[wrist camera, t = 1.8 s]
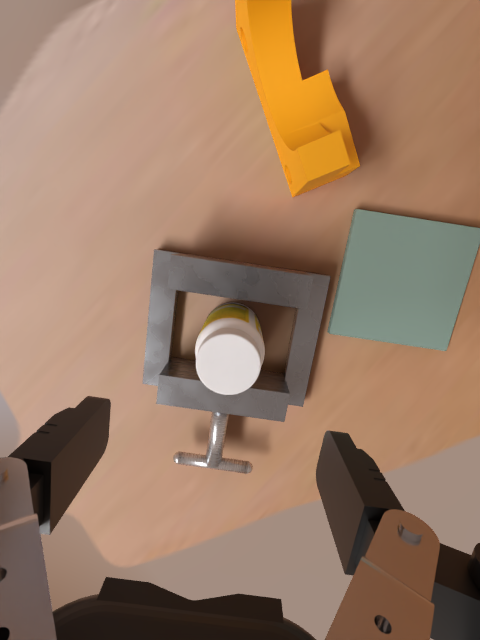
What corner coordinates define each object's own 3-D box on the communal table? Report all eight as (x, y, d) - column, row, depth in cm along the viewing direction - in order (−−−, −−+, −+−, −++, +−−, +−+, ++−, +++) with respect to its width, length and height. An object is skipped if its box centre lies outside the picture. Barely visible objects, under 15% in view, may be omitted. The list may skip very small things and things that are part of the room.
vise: (327, 275, 26) (341, 280, 22) (287, 463, 30) (294, 495, 26) (157, 249, 26) (142, 250, 22) (140, 442, 30) (124, 472, 26)
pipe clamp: (345, 175, 25) (379, 152, 18) (292, 197, 25) (307, 181, 19) (294, 2, 22) (313, -93, 16) (236, 30, 23) (232, -53, 16)
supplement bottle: (193, 329, 28) (171, 365, 19) (231, 289, 27) (225, 309, 18) (234, 366, 28) (230, 415, 20) (272, 328, 27) (284, 364, 19)
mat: (478, 229, 25) (484, 228, 25) (441, 348, 28) (446, 351, 27) (354, 209, 25) (356, 208, 24) (327, 331, 27) (329, 333, 27)
